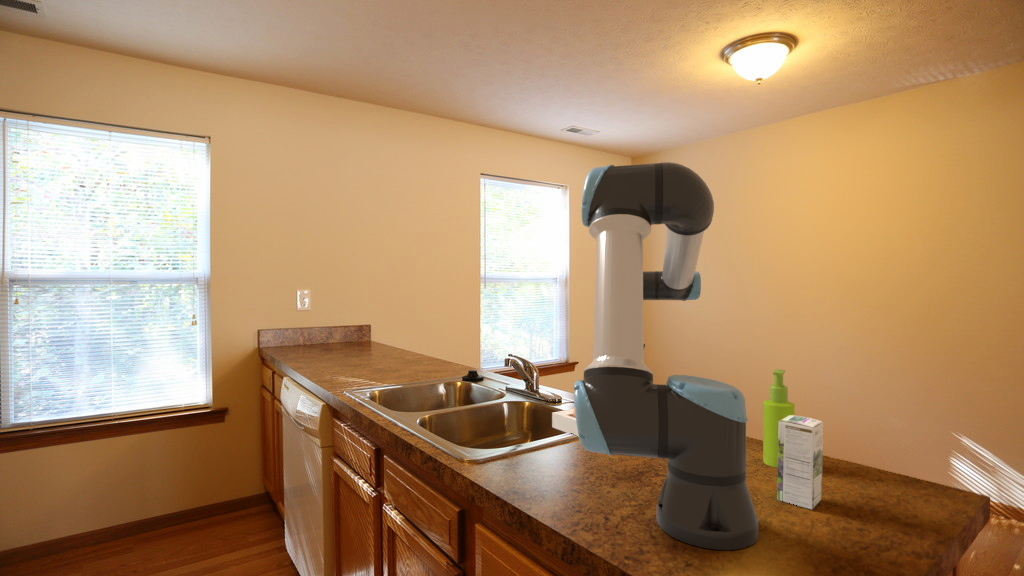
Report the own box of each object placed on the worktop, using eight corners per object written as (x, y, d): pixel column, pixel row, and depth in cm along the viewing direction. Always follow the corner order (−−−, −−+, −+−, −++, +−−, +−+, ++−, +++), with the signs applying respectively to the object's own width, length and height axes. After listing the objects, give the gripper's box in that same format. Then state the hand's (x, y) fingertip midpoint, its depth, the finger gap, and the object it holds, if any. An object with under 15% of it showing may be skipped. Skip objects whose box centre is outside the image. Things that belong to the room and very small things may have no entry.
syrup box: (787, 491, 93) (787, 413, 93) (823, 501, 89) (823, 419, 89) (776, 500, 89) (776, 419, 89) (814, 511, 85) (814, 426, 85)
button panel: (588, 440, 124) (588, 424, 124) (552, 427, 135) (552, 412, 135) (657, 423, 138) (657, 409, 138) (619, 413, 150) (619, 399, 150)
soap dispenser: (795, 460, 109) (795, 369, 109) (793, 470, 103) (793, 374, 103) (765, 455, 112) (765, 367, 112) (761, 465, 106) (761, 371, 106)
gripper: (620, 321, 135) (620, 409, 135) (652, 319, 142) (652, 402, 142) (600, 320, 141) (600, 403, 141) (632, 318, 148) (632, 398, 148)
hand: (626, 403), depth 141 cm, fingers closed
